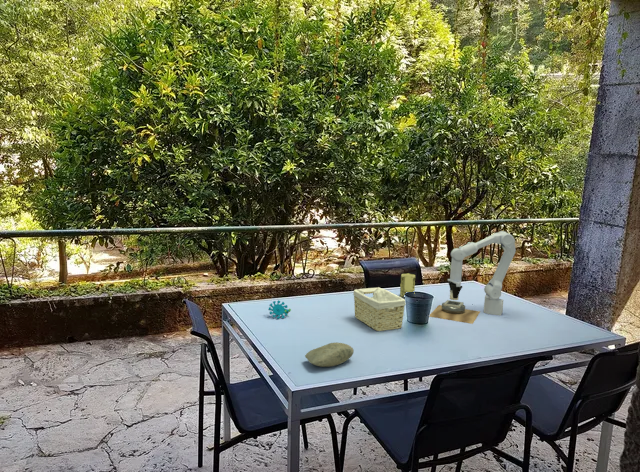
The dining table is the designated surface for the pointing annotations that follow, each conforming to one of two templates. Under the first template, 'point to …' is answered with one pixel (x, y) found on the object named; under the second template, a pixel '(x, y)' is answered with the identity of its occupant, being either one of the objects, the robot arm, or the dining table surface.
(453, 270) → the robot arm
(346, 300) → the dining table surface
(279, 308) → the teal virus model
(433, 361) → the dining table surface
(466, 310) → the board
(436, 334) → the dining table surface
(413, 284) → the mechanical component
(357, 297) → the storage basket
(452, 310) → the grey round socket base
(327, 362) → the rock
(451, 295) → the flanged cap
